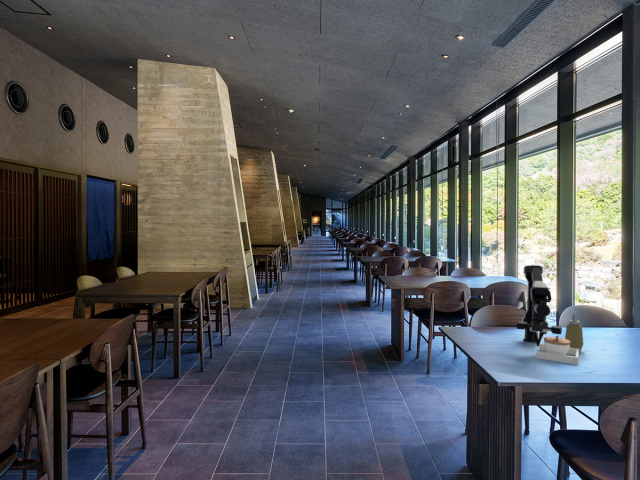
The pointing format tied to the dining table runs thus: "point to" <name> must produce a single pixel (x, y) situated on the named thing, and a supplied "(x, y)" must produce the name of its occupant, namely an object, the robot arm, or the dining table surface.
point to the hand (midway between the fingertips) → (538, 345)
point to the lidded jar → (556, 345)
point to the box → (559, 357)
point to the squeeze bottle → (574, 333)
